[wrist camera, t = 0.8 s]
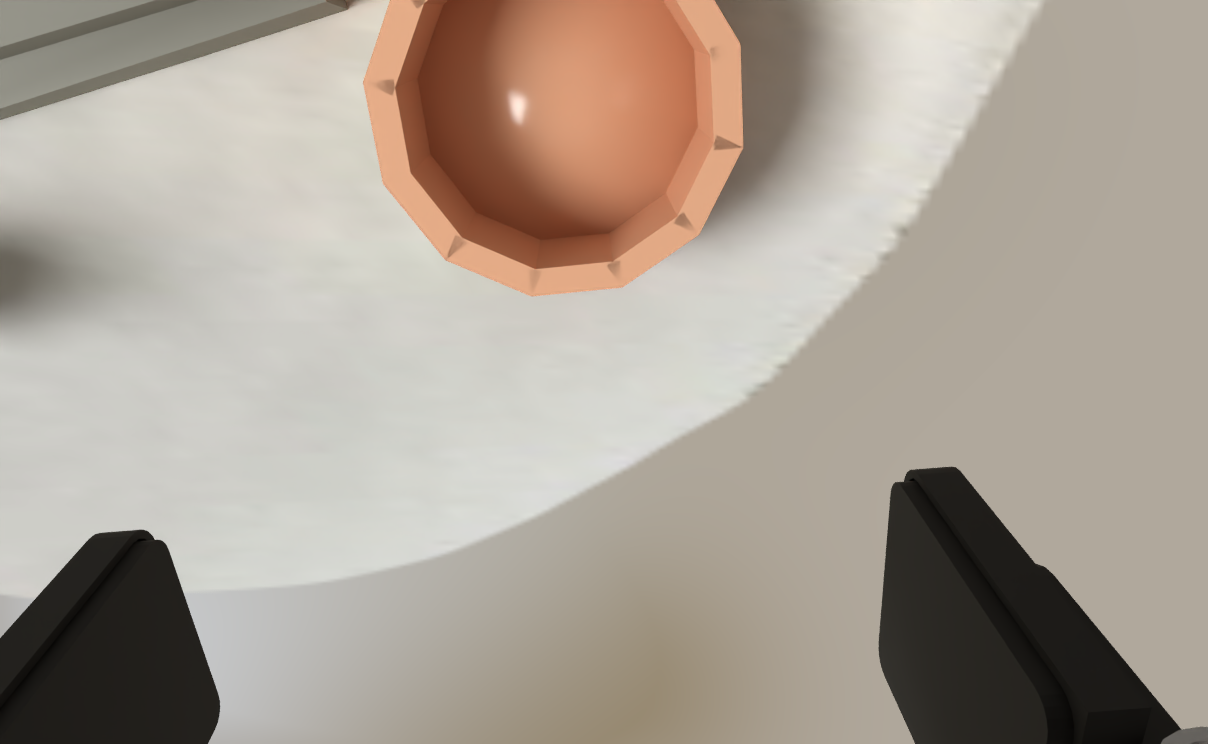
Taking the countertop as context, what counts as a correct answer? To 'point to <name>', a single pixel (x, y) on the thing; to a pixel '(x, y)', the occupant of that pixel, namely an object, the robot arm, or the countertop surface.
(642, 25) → the bowl
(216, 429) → the countertop surface
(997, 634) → the robot arm
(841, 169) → the countertop surface
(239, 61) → the countertop surface
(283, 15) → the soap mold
